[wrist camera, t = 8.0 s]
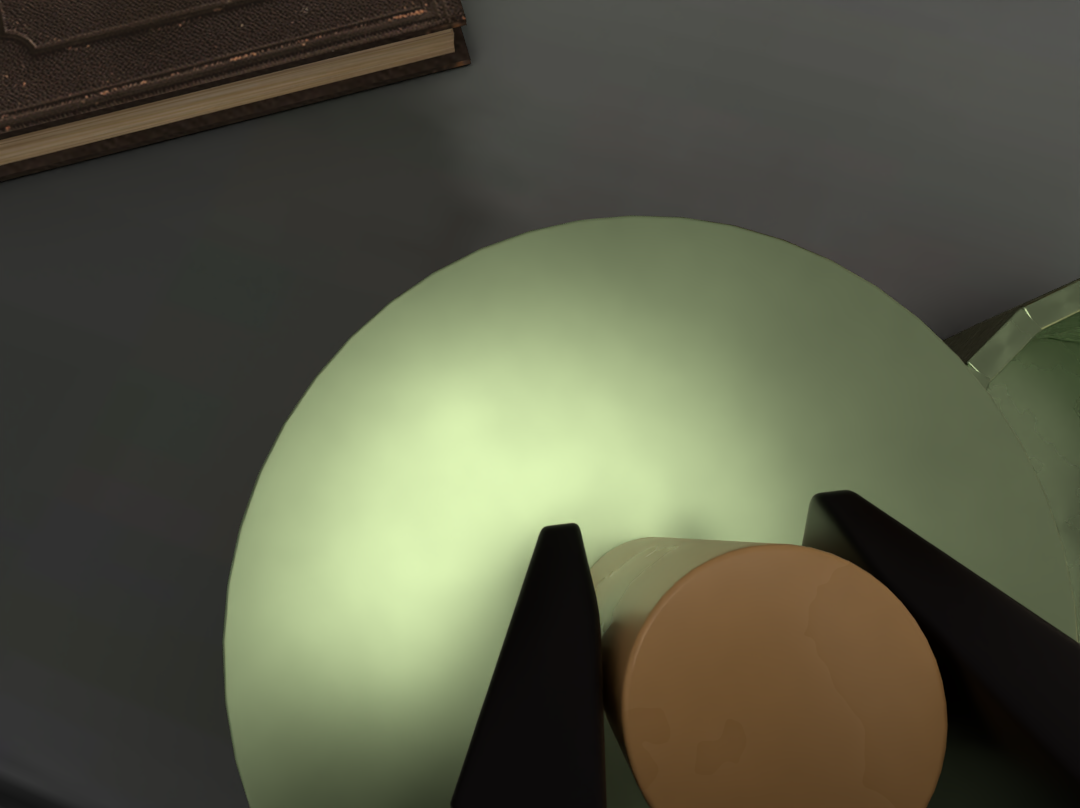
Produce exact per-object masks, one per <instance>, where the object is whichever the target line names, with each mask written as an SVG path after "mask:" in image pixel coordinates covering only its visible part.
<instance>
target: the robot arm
mask: <svg viewBox="0 0 1080 808" xmlns="http://www.w3.org/2000/svg"><path fill="white" fill-rule="evenodd" d="M802 546H805V547H812V548H815V549H818V550H822V551H825V552H828V553H832V554H834V555H836V556H839V557H841V558H843V559H845V560H848V561H850V562H852V563H853V564H855V565H857V566H858V567H860V568H862V569H863V570H865V571H867V572H868V573H870V574H871V575H872V576H874V577H875V578H876V579H877V580H879V581H880V582H881V583H882V584H884V585H885V586H886V587H887V588H888V589H889V590H890V591H891V592H892V593H893V594H894V595H895V596H896V597H897V598H898V599H899V600H900V601H901V602H902V603H903V605H904V606H905V607H906V608H907V610H908V611H909V612H910V614H911V615H912V616H913V617H914V619H915V620H916V622H917V624H918V625H919V627H920V629H921V630H922V632H923V634H924V635H925V637H926V639H927V641H928V643H929V646H930V648H931V650H932V652H933V655H934V657H935V659H936V662H937V665H938V668H939V672H940V675H941V678H942V681H943V687H944V693H945V698H946V705H947V723H948V728H947V742H946V751H945V756H944V761H943V766H942V771H941V774H940V776H939V779H938V782H937V785H936V788H935V791H934V793H933V795H932V797H931V799H930V801H929V803H928V805H927V807H926V808H1080V643H1078V642H1077V641H1075V640H1074V639H1072V638H1071V637H1069V636H1068V635H1066V634H1065V633H1063V632H1062V631H1060V630H1059V629H1057V628H1056V627H1054V626H1053V625H1052V624H1050V623H1049V622H1047V621H1046V620H1044V619H1043V618H1041V617H1040V616H1038V615H1037V614H1035V613H1034V612H1032V611H1031V610H1029V609H1028V608H1026V607H1025V606H1023V605H1022V604H1020V603H1019V602H1017V601H1016V600H1014V599H1013V598H1011V597H1010V596H1008V595H1007V594H1006V593H1004V592H1003V591H1001V590H1000V589H998V588H997V587H995V586H994V585H992V584H991V583H989V582H988V581H986V580H985V579H983V578H982V577H980V576H979V575H977V574H976V573H974V572H973V571H971V570H970V569H968V568H967V567H965V566H964V565H962V564H961V563H960V562H958V561H957V560H955V559H954V558H952V557H951V556H949V555H948V554H946V553H945V552H943V551H942V550H940V549H939V548H937V547H936V546H934V545H933V544H931V543H930V542H928V541H927V540H925V539H924V538H922V537H921V536H919V535H918V534H916V533H915V532H913V531H912V530H911V529H909V528H908V527H906V526H905V525H903V524H902V523H900V522H899V521H897V520H896V519H894V518H893V517H891V516H890V515H888V514H887V513H885V512H884V511H882V510H881V509H879V508H878V507H876V506H875V505H873V504H872V503H870V502H869V501H867V500H866V499H865V498H863V497H862V496H860V495H859V494H857V493H855V492H853V491H850V490H838V491H830V492H821V493H817V494H815V495H814V496H813V497H812V498H811V500H810V503H809V508H808V513H807V519H806V524H805V530H804V535H803V540H802ZM450 807H451V808H607V794H606V765H605V737H604V708H603V679H602V650H601V626H600V614H599V608H598V603H597V597H596V593H595V589H594V585H593V580H592V576H591V572H590V568H589V564H588V559H587V555H586V551H585V547H584V542H583V538H582V534H581V530H580V527H579V526H578V524H576V523H566V524H557V525H549V526H545V527H543V528H542V529H541V531H540V533H539V536H538V539H537V542H536V545H535V548H534V551H533V554H532V557H531V560H530V563H529V566H528V569H527V572H526V575H525V578H524V581H523V584H522V587H521V590H520V593H519V596H518V599H517V602H516V605H515V608H514V611H513V614H512V617H511V620H510V624H509V627H508V630H507V633H506V636H505V639H504V642H503V645H502V648H501V651H500V654H499V657H498V660H497V663H496V666H495V669H494V672H493V675H492V678H491V681H490V684H489V687H488V690H487V693H486V696H485V699H484V702H483V705H482V708H481V711H480V714H479V717H478V720H477V723H476V726H475V729H474V732H473V735H472V738H471V741H470V744H469V748H468V751H467V754H466V757H465V760H464V763H463V766H462V769H461V772H460V775H459V778H458V781H457V784H456V787H455V790H454V793H453V796H452V799H451V802H450Z"/></svg>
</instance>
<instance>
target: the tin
mask: <svg viewBox="0 0 1080 808" xmlns="http://www.w3.org/2000/svg"><path fill="white" fill-rule="evenodd" d="M943 342H944V343H945V344H946V345H947V346H948V347H949V348H950V349H951V350H952V351H953V352H954V353H955V354H957V355H958V356H959V358H960V359H961V360H962V361H963V363H964V364H965V365H966V366H967V368H968V369H969V370H970V371H971V372H972V374H973V375H974V376H975V377H976V379H977V380H978V381H979V382H980V383H981V385H982V386H983V387H984V388H985V390H986V391H987V392H988V393H989V395H990V396H991V397H992V398H993V400H994V401H995V403H996V404H997V406H998V408H999V409H1000V411H1001V412H1002V414H1003V416H1004V417H1005V419H1006V420H1007V422H1008V423H1009V425H1010V427H1011V428H1012V430H1013V431H1014V433H1015V435H1016V436H1017V438H1018V439H1019V441H1020V442H1021V444H1022V446H1023V448H1024V450H1025V452H1026V454H1027V456H1028V458H1029V461H1030V463H1031V465H1032V467H1033V469H1034V471H1035V473H1036V475H1037V477H1038V479H1039V482H1040V484H1041V486H1042V488H1043V490H1044V492H1045V494H1046V497H1047V500H1048V503H1049V506H1050V509H1051V512H1052V515H1053V518H1054V521H1055V524H1056V527H1057V530H1058V533H1059V536H1060V539H1061V542H1062V545H1063V548H1064V552H1065V557H1066V562H1067V567H1068V571H1069V576H1070V581H1071V586H1072V591H1073V596H1074V601H1075V608H1076V621H1077V634H1078V643H1080V278H1079V279H1077V280H1074V281H1072V282H1070V283H1068V284H1065V285H1063V286H1061V287H1059V288H1057V289H1054V290H1052V291H1050V292H1048V293H1045V294H1043V295H1041V296H1039V297H1036V298H1034V299H1032V300H1030V301H1028V302H1025V303H1023V304H1021V305H1019V306H1016V307H1014V308H1012V309H1010V310H1007V311H1005V312H1003V313H1001V314H999V315H996V316H994V317H992V318H990V319H987V320H985V321H983V322H981V323H979V324H977V325H974V326H972V327H970V328H968V329H966V330H964V331H962V332H960V333H958V334H956V335H954V336H952V337H949V338H947V339H945V340H943Z"/></svg>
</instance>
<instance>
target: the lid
mask: <svg viewBox="0 0 1080 808" xmlns="http://www.w3.org/2000/svg"><path fill="white" fill-rule="evenodd" d="M838 490H850V491H853V492H855V493H857V494H859V495H860V496H862V497H863V498H865V499H866V500H867V501H869V502H870V503H872V504H873V505H875V506H876V507H878V508H879V509H881V510H882V511H884V512H885V513H887V514H888V515H890V516H891V517H893V518H894V519H896V520H897V521H899V522H900V523H902V524H903V525H905V526H906V527H908V528H909V529H911V530H912V531H913V532H915V533H916V534H918V535H919V536H921V537H922V538H924V539H925V540H927V541H928V542H930V543H931V544H933V545H934V546H936V547H937V548H939V549H940V550H942V551H943V552H945V553H946V554H948V555H949V556H951V557H952V558H954V559H955V560H957V561H958V562H960V563H961V564H962V565H964V566H965V567H967V568H968V569H970V570H971V571H973V572H974V573H976V574H977V575H979V576H980V577H982V578H983V579H985V580H986V581H988V582H989V583H991V584H992V585H994V586H995V587H997V588H998V589H1000V590H1001V591H1003V592H1004V593H1006V594H1007V595H1008V596H1010V597H1011V598H1013V599H1014V600H1016V601H1017V602H1019V603H1020V604H1022V605H1023V606H1025V607H1026V608H1028V609H1029V610H1031V611H1032V612H1034V613H1035V614H1037V615H1038V616H1040V617H1041V618H1043V619H1044V620H1046V621H1047V622H1049V623H1050V624H1052V625H1053V626H1054V627H1056V628H1057V629H1059V630H1060V631H1062V632H1063V633H1065V634H1066V635H1068V636H1069V637H1071V638H1072V639H1074V640H1075V641H1077V642H1078V634H1077V621H1076V608H1075V601H1074V596H1073V591H1072V586H1071V581H1070V576H1069V571H1068V567H1067V562H1066V557H1065V552H1064V548H1063V545H1062V542H1061V539H1060V536H1059V533H1058V530H1057V527H1056V524H1055V521H1054V518H1053V515H1052V512H1051V509H1050V506H1049V503H1048V500H1047V497H1046V494H1045V492H1044V490H1043V488H1042V486H1041V484H1040V482H1039V479H1038V477H1037V475H1036V473H1035V471H1034V469H1033V467H1032V465H1031V463H1030V461H1029V458H1028V456H1027V454H1026V452H1025V450H1024V448H1023V446H1022V444H1021V442H1020V441H1019V439H1018V438H1017V436H1016V435H1015V433H1014V431H1013V430H1012V428H1011V427H1010V425H1009V423H1008V422H1007V420H1006V419H1005V417H1004V416H1003V414H1002V412H1001V411H1000V409H999V408H998V406H997V404H996V403H995V401H994V400H993V398H992V397H991V396H990V395H989V393H988V392H987V391H986V390H985V388H984V387H983V386H982V385H981V383H980V382H979V381H978V380H977V379H976V377H975V376H974V375H973V374H972V372H971V371H970V370H969V369H968V368H967V366H966V365H965V364H964V363H963V361H962V360H961V359H960V358H959V356H958V355H957V354H955V353H954V352H953V351H952V350H951V349H950V348H949V347H948V346H947V345H946V344H945V343H944V342H943V341H942V340H941V339H940V338H939V337H938V336H937V335H936V334H935V333H934V332H933V331H932V330H931V329H930V328H929V327H927V326H926V325H925V324H924V323H923V322H922V321H921V320H920V319H919V318H918V317H916V316H915V315H914V314H912V313H911V312H910V311H908V310H907V309H906V308H904V307H903V306H902V305H901V304H899V303H898V302H897V301H895V300H894V299H893V298H891V297H890V296H889V295H887V294H886V293H885V292H883V291H882V290H881V289H879V288H878V287H877V286H875V285H873V284H871V283H870V282H868V281H866V280H864V279H863V278H861V277H859V276H858V275H856V274H854V273H852V272H851V271H849V270H847V269H846V268H844V267H842V266H840V265H839V264H837V263H835V262H833V261H832V260H829V259H827V258H825V257H822V256H820V255H818V254H815V253H813V252H811V251H808V250H806V249H804V248H801V247H799V246H797V245H794V244H792V243H790V242H787V241H785V240H782V239H779V238H775V237H772V236H769V235H765V234H762V233H758V232H755V231H751V230H748V229H744V228H741V227H737V226H734V225H728V224H722V223H715V222H709V221H703V220H697V219H690V218H684V217H660V216H620V217H609V218H598V219H587V220H578V221H573V222H569V223H564V224H560V225H555V226H551V227H546V228H542V229H537V230H533V231H528V232H526V233H523V234H520V235H517V236H514V237H512V238H509V239H506V240H503V241H500V242H498V243H495V244H492V245H489V246H486V247H484V248H481V249H479V250H477V251H475V252H473V253H471V254H469V255H467V256H465V257H463V258H461V259H459V260H457V261H455V262H453V263H451V264H449V265H447V266H445V267H443V268H441V269H439V270H437V271H435V272H433V273H432V274H431V275H429V276H428V277H426V278H425V279H423V280H422V281H420V282H419V283H417V284H416V285H414V286H413V287H411V288H410V289H408V290H407V291H405V292H404V293H403V294H401V295H400V296H398V297H397V298H395V299H394V300H392V301H391V302H389V303H388V304H387V305H386V306H385V307H384V308H383V309H382V310H380V311H379V312H378V313H377V314H376V315H375V316H374V317H372V318H371V319H370V320H369V321H368V322H367V323H366V324H365V325H363V326H362V327H361V328H360V329H359V330H358V331H357V332H355V333H354V334H353V335H352V336H351V337H350V338H349V339H348V340H347V341H346V342H345V344H344V345H343V346H342V347H341V348H340V349H339V350H338V352H337V353H336V354H335V355H334V356H333V357H332V358H331V360H330V361H329V362H328V363H327V364H326V365H325V366H324V368H323V369H322V370H321V371H320V372H319V373H318V374H317V376H316V377H315V378H314V379H313V381H312V382H311V384H310V385H309V387H308V388H307V390H306V391H305V393H304V394H303V395H302V397H301V398H300V400H299V401H298V403H297V404H296V406H295V407H294V409H293V410H292V412H291V413H290V415H289V416H288V418H287V419H286V421H285V422H284V424H283V426H282V428H281V430H280V432H279V434H278V436H277V438H276V440H275V442H274V444H273V446H272V447H271V449H270V451H269V453H268V455H267V457H266V459H265V461H264V463H263V465H262V467H261V469H260V471H259V473H258V476H257V479H256V482H255V485H254V487H253V490H252V493H251V496H250V499H249V502H248V504H247V507H246V510H245V513H244V516H243V519H242V521H241V524H240V527H239V532H238V536H237V541H236V545H235V550H234V555H233V559H232V564H231V569H230V573H229V578H228V583H227V593H226V605H225V616H224V628H223V640H222V646H223V669H224V693H225V705H226V711H227V716H228V722H229V728H230V734H231V739H232V745H233V751H234V757H235V762H236V765H237V768H238V771H239V774H240V778H241V781H242V784H243V787H244V790H245V794H246V797H247V800H248V803H249V807H250V808H451V807H450V802H451V799H452V796H453V793H454V790H455V787H456V784H457V781H458V778H459V775H460V772H461V769H462V766H463V763H464V760H465V757H466V754H467V751H468V748H469V744H470V741H471V738H472V735H473V732H474V729H475V726H476V723H477V720H478V717H479V714H480V711H481V708H482V705H483V702H484V699H485V696H486V693H487V690H488V687H489V684H490V681H491V678H492V675H493V672H494V669H495V666H496V663H497V660H498V657H499V654H500V651H501V648H502V645H503V642H504V639H505V636H506V633H507V630H508V627H509V624H510V620H511V617H512V614H513V611H514V608H515V605H516V602H517V599H518V596H519V593H520V590H521V587H522V584H523V581H524V578H525V575H526V572H527V569H528V566H529V563H530V560H531V557H532V554H533V551H534V548H535V545H536V542H537V539H538V536H539V533H540V531H541V529H542V528H543V527H545V526H549V525H557V524H566V523H576V524H578V526H579V527H580V530H581V534H582V538H583V542H584V547H585V551H586V555H587V559H588V564H589V568H590V572H591V576H592V580H593V585H594V589H595V593H596V597H597V603H598V608H599V614H600V626H601V650H602V679H603V708H604V737H605V765H606V794H607V808H926V807H927V805H928V803H929V801H930V799H931V797H932V795H933V793H934V791H935V788H936V785H937V782H938V779H939V776H940V774H941V771H942V766H943V761H944V756H945V751H946V742H947V728H948V723H947V705H946V698H945V693H944V687H943V681H942V678H941V675H940V672H939V668H938V665H937V662H936V659H935V657H934V655H933V652H932V650H931V648H930V646H929V643H928V641H927V639H926V637H925V635H924V634H923V632H922V630H921V629H920V627H919V625H918V624H917V622H916V620H915V619H914V617H913V616H912V615H911V614H910V612H909V611H908V610H907V608H906V607H905V606H904V605H903V603H902V602H901V601H900V600H899V599H898V598H897V597H896V596H895V595H894V594H893V593H892V592H891V591H890V590H889V589H888V588H887V587H886V586H885V585H884V584H882V583H881V582H880V581H879V580H877V579H876V578H875V577H874V576H872V575H871V574H870V573H868V572H867V571H865V570H863V569H862V568H860V567H858V566H857V565H855V564H853V563H852V562H850V561H848V560H845V559H843V558H841V557H839V556H836V555H834V554H832V553H828V552H825V551H822V550H818V549H815V548H812V547H805V546H802V540H803V535H804V530H805V524H806V519H807V513H808V508H809V503H810V500H811V498H812V497H813V496H814V495H815V494H817V493H821V492H830V491H838Z"/></svg>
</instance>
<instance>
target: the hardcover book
mask: <svg viewBox="0 0 1080 808" xmlns="http://www.w3.org/2000/svg"><path fill="white" fill-rule="evenodd" d="M464 25H467V24H466V18H465V14H464V11H463V8H462V4H461V1H460V0H0V182H1V181H5V180H9V179H13V178H17V177H21V176H25V175H29V174H33V173H37V172H41V171H45V170H49V169H53V168H57V167H61V166H65V165H69V164H73V163H77V162H81V161H84V160H88V159H92V158H96V157H100V156H104V155H108V154H112V153H116V152H120V151H124V150H128V149H132V148H136V147H140V146H144V145H148V144H152V143H156V142H160V141H164V140H168V139H172V138H176V137H180V136H184V135H188V134H192V133H196V132H200V131H204V130H208V129H212V128H216V127H220V126H224V125H228V124H232V123H236V122H240V121H244V120H248V119H252V118H256V117H260V116H264V115H268V114H272V113H276V112H280V111H284V110H288V109H292V108H296V107H300V106H304V105H308V104H312V103H315V102H319V101H323V100H327V99H331V98H335V97H339V96H343V95H347V94H351V93H355V92H359V91H363V90H367V89H371V88H375V87H379V86H383V85H387V84H391V83H395V82H399V81H403V80H407V79H411V78H415V77H419V76H423V75H427V74H431V73H435V72H439V71H443V70H447V69H451V68H455V67H459V66H463V65H467V64H471V61H470V57H469V53H468V50H467V46H466V43H465V40H464V36H463V33H462V30H461V26H464Z"/></svg>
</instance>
